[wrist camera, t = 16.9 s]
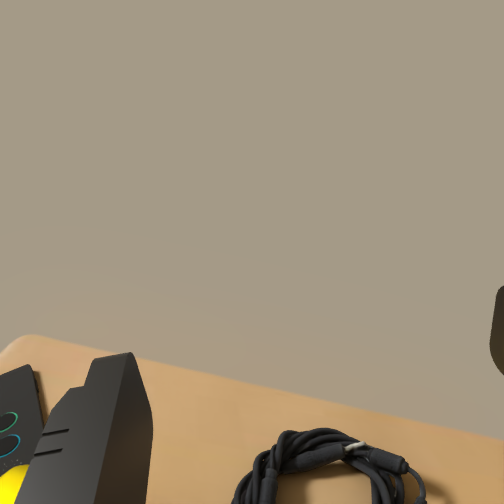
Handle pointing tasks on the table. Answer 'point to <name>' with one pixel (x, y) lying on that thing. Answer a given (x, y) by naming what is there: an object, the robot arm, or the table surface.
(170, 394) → the table surface
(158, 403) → the table surface
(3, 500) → the element tile
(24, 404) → the smart home device
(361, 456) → the cable
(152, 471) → the table surface
